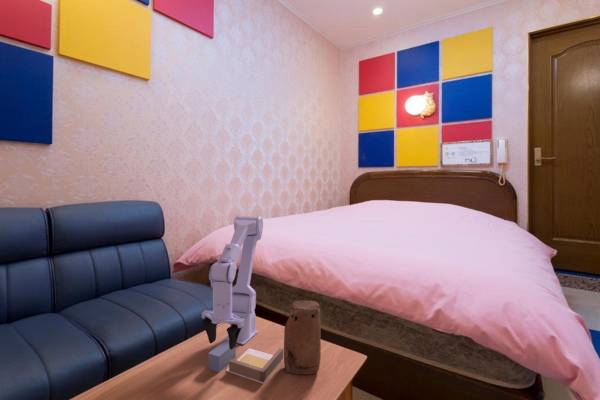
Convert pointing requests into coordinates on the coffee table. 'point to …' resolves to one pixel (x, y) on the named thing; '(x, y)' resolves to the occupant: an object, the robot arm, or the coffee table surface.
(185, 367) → the coffee table surface
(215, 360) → the bar
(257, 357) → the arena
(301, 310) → the brown tall cylinder
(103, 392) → the coffee table surface
